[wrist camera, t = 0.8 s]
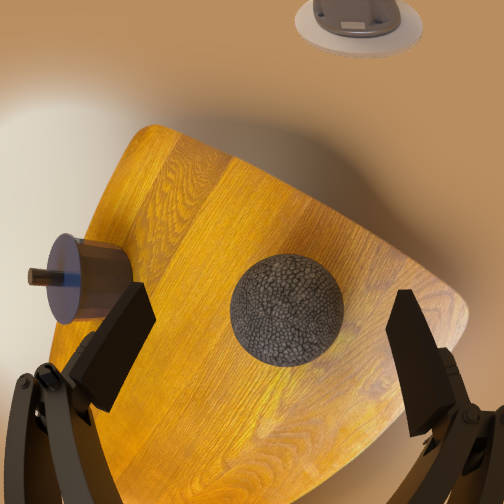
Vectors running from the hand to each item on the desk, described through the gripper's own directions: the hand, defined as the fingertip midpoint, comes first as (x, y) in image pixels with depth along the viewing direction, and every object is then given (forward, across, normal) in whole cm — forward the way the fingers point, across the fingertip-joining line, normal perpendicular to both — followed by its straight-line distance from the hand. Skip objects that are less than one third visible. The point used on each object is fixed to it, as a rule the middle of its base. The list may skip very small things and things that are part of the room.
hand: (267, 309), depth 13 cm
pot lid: (+13, -31, -9) cm, 35 cm away
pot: (+20, -29, -15) cm, 38 cm away
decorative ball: (+12, +2, -10) cm, 16 cm away
